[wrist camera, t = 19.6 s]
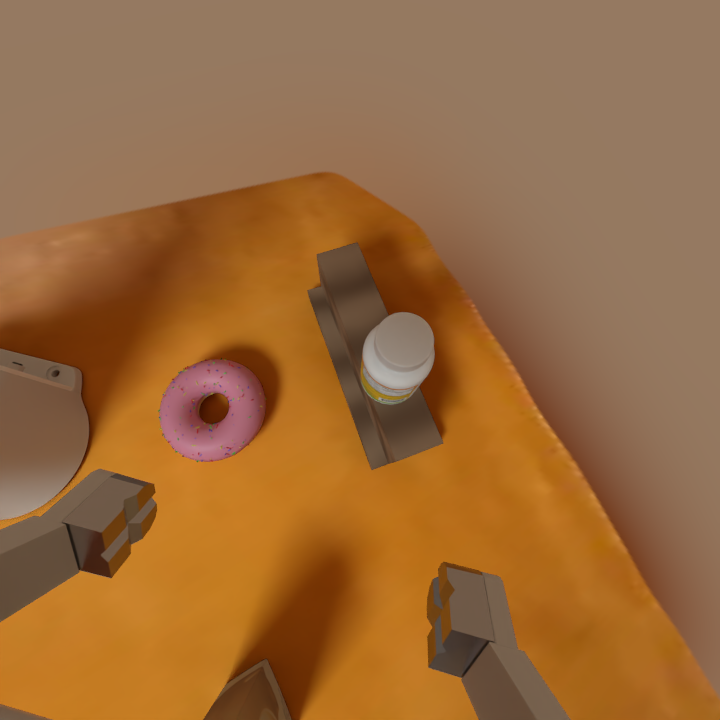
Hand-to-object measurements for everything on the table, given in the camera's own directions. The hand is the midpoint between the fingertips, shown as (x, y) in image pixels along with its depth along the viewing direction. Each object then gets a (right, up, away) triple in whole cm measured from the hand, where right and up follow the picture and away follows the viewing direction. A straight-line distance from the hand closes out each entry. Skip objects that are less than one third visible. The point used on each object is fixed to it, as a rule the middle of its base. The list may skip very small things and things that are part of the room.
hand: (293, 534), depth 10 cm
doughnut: (-14, -1, +30) cm, 33 cm away
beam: (+3, +4, +32) cm, 32 cm away
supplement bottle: (+4, +3, +23) cm, 24 cm away
